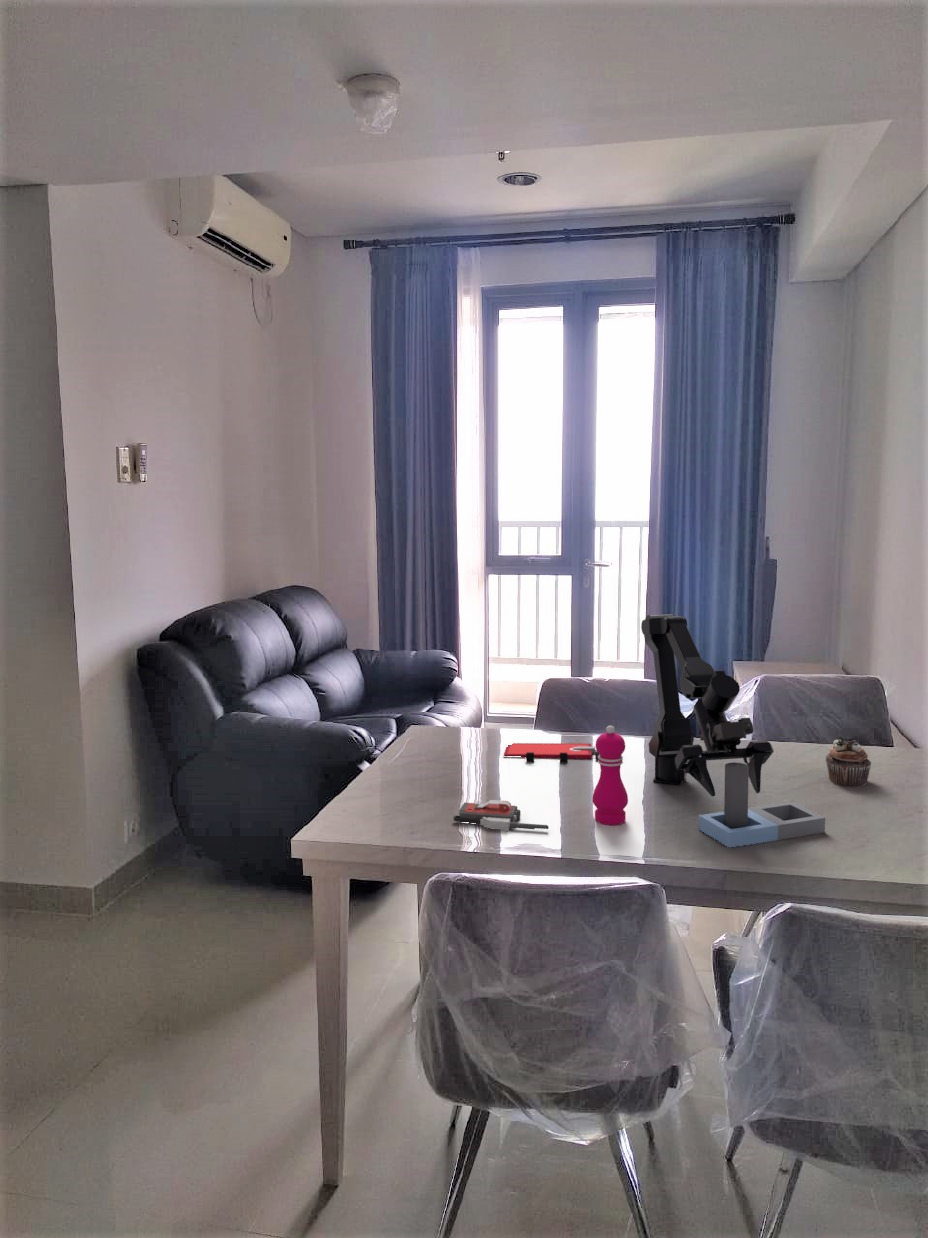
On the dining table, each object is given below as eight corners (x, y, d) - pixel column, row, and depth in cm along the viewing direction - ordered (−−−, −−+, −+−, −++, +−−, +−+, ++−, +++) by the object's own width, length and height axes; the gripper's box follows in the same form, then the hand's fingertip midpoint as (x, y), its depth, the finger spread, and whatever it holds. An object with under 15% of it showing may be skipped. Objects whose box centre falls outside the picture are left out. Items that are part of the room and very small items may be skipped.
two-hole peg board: (728, 848, 164) (729, 833, 163) (698, 829, 173) (699, 815, 173) (824, 832, 171) (825, 817, 170) (790, 815, 180) (791, 801, 180)
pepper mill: (630, 815, 182) (630, 722, 179) (625, 828, 175) (625, 731, 172) (596, 812, 184) (596, 720, 181) (589, 824, 177) (589, 729, 175)
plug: (719, 835, 170) (720, 766, 168) (730, 829, 173) (731, 761, 171) (740, 841, 167) (741, 770, 165) (751, 834, 170) (752, 765, 168)
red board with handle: (622, 764, 217) (619, 748, 231) (622, 753, 216) (619, 738, 231) (502, 763, 221) (507, 748, 236) (502, 753, 221) (507, 738, 235)
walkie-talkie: (450, 829, 177) (547, 836, 173) (450, 808, 177) (547, 815, 172) (460, 814, 186) (553, 820, 181) (460, 794, 185) (553, 800, 181)
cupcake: (875, 789, 195) (877, 745, 194) (829, 787, 197) (831, 744, 196) (864, 775, 204) (866, 734, 203) (821, 773, 206) (822, 733, 205)
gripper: (681, 706, 171) (703, 778, 161) (770, 701, 173) (797, 771, 164) (665, 734, 179) (685, 804, 170) (751, 729, 182) (775, 797, 173)
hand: (736, 794), depth 169 cm, fingers open, 9 cm apart
